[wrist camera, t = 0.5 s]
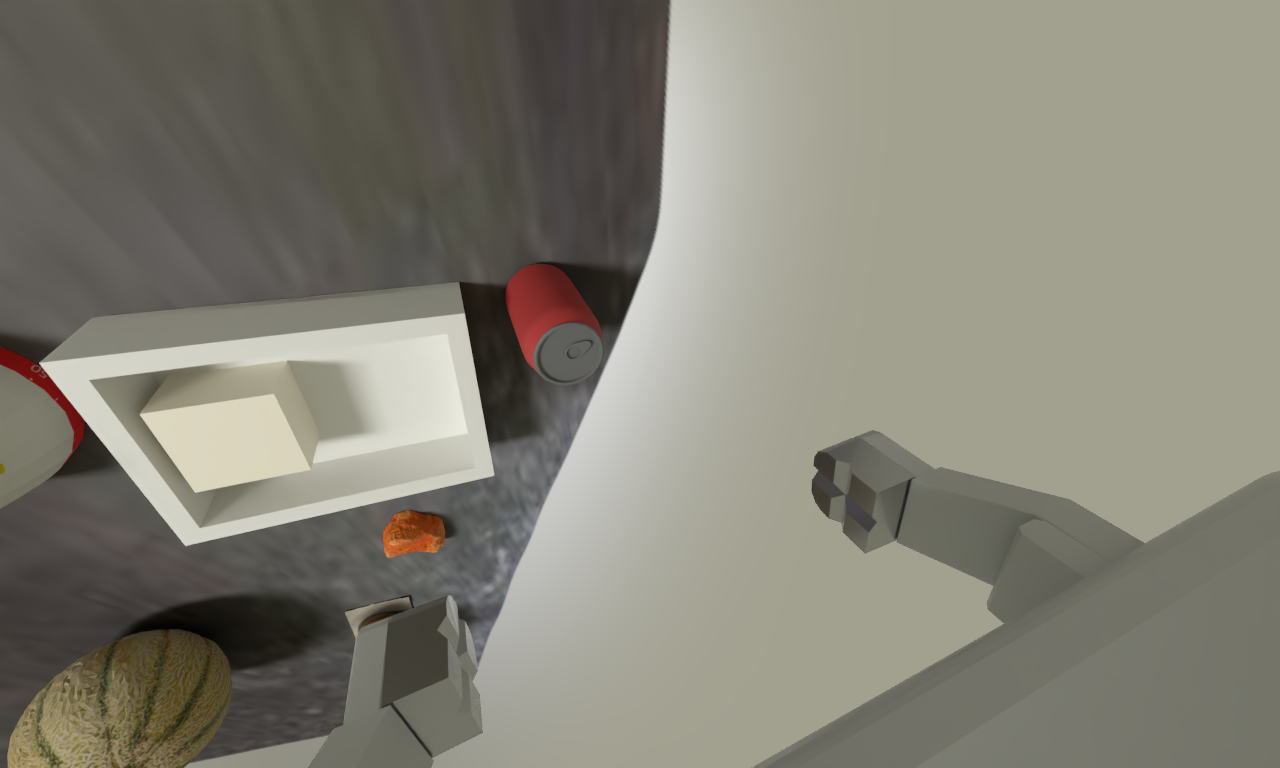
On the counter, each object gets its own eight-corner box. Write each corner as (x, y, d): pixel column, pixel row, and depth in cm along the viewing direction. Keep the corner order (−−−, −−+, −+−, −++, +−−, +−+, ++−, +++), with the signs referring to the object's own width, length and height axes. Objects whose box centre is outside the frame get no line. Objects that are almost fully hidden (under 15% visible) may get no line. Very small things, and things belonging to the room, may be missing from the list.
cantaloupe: (56, 688, 50) (-49, 877, 39) (72, 599, 45) (-44, 785, 34) (233, 676, 58) (189, 829, 47) (262, 600, 53) (221, 749, 42)
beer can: (583, 304, 48) (622, 364, 39) (526, 336, 47) (552, 405, 38) (552, 248, 43) (589, 301, 34) (489, 283, 43) (509, 346, 34)
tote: (93, 317, 34) (38, 363, 29) (458, 281, 42) (464, 313, 37) (210, 490, 44) (185, 545, 39) (486, 435, 52) (494, 475, 47)
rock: (453, 556, 62) (456, 584, 59) (345, 559, 55) (341, 591, 52) (478, 489, 57) (482, 516, 54) (363, 484, 51) (359, 514, 48)
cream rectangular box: (167, 376, 37) (139, 414, 33) (287, 360, 39) (273, 393, 36) (215, 451, 41) (195, 492, 38) (319, 433, 44) (310, 469, 40)
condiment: (359, 646, 64) (350, 745, 55) (344, 610, 59) (332, 713, 50) (418, 629, 66) (419, 722, 57) (408, 594, 62) (407, 689, 53)
